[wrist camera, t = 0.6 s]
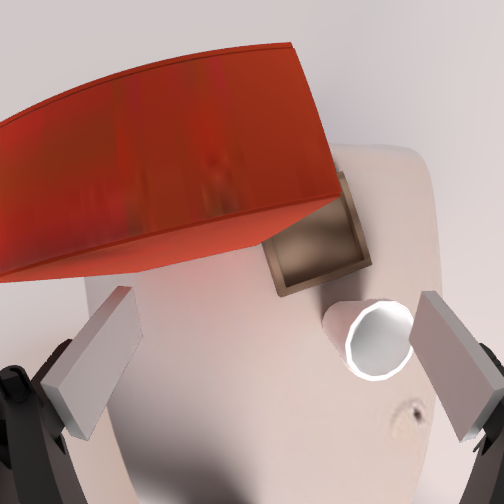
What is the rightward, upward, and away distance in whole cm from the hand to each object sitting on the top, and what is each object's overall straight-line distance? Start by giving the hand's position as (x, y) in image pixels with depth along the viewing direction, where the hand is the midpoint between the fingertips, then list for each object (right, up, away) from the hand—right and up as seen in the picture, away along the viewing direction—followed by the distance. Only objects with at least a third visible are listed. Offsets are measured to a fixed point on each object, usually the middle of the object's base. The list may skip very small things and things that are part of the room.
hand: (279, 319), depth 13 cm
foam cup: (+12, -8, +31) cm, 35 cm away
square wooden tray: (+7, +6, +31) cm, 32 cm away
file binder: (-10, +6, +30) cm, 32 cm away
